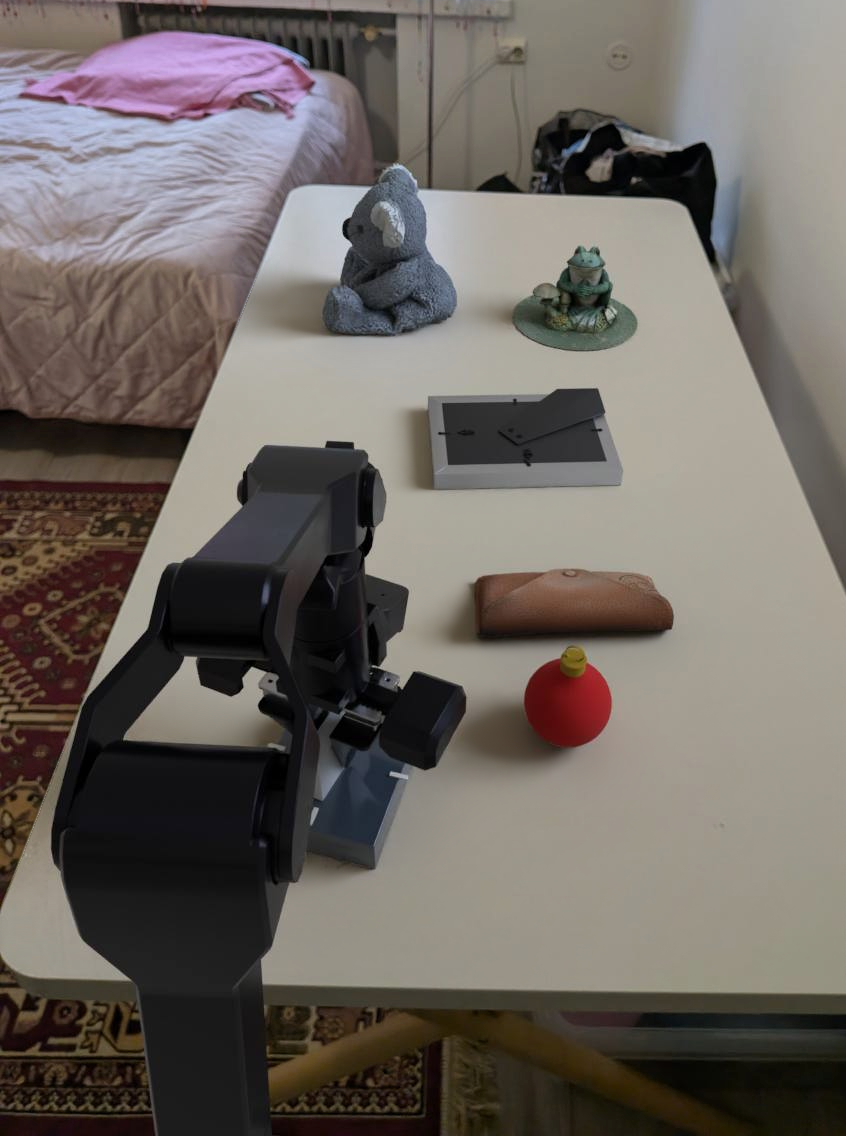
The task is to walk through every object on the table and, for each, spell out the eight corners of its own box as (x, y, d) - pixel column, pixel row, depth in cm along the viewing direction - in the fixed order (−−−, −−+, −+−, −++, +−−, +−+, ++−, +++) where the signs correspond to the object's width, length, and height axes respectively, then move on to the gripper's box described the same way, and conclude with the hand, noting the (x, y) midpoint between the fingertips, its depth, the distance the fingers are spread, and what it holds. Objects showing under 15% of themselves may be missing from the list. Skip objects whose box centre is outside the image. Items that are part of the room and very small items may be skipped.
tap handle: (322, 801, 70) (318, 762, 67) (303, 794, 70) (298, 754, 67) (368, 731, 75) (366, 691, 72) (350, 724, 75) (347, 684, 72)
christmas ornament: (615, 711, 81) (631, 629, 75) (593, 777, 76) (608, 694, 70) (536, 686, 83) (545, 604, 77) (509, 749, 78) (516, 665, 72)
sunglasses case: (651, 571, 94) (669, 550, 88) (660, 641, 92) (679, 625, 86) (470, 577, 93) (475, 556, 87) (474, 648, 90) (479, 633, 84)
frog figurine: (505, 343, 130) (510, 264, 123) (519, 286, 144) (524, 211, 137) (636, 357, 129) (648, 277, 122) (638, 297, 143) (649, 223, 136)
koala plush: (344, 281, 143) (337, 150, 131) (463, 290, 143) (467, 159, 130) (318, 337, 130) (307, 196, 118) (449, 348, 129) (452, 207, 117)
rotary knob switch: (383, 872, 69) (382, 847, 67) (239, 835, 71) (233, 810, 69) (429, 740, 78) (430, 715, 76) (301, 711, 80) (298, 686, 78)
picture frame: (595, 407, 119) (427, 410, 117) (598, 388, 117) (427, 390, 115) (621, 485, 106) (434, 489, 104) (624, 464, 105) (434, 468, 103)
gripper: (501, 576, 66) (490, 721, 76) (268, 503, 71) (286, 648, 81) (433, 690, 58) (431, 836, 67) (175, 599, 63) (208, 747, 73)
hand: (336, 758), depth 72 cm, fingers closed on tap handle, 2 cm apart
